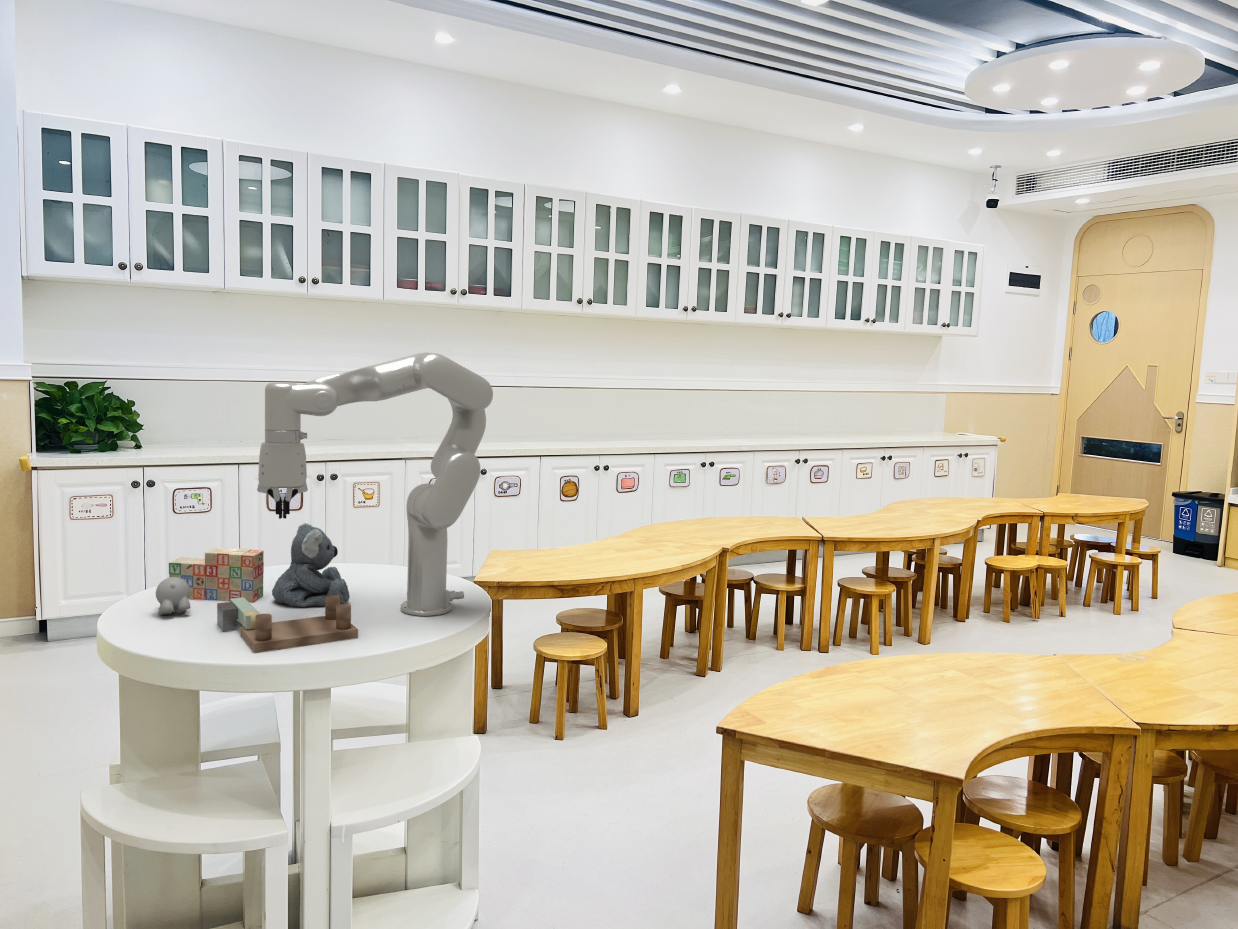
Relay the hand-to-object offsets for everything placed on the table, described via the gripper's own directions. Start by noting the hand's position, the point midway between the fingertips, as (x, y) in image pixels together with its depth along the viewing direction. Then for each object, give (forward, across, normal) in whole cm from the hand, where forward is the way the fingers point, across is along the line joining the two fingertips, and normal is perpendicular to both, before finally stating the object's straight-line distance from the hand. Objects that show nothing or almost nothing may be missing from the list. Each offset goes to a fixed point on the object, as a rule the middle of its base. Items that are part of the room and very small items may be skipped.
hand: (282, 517), depth 199 cm
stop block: (+25, +12, 0) cm, 28 cm away
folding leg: (+23, +8, +2) cm, 24 cm away
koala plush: (+25, -6, -19) cm, 32 cm away
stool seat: (+25, -4, +10) cm, 27 cm away
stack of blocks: (+26, +16, -26) cm, 40 cm away
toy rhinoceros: (+25, +25, -15) cm, 38 cm away
